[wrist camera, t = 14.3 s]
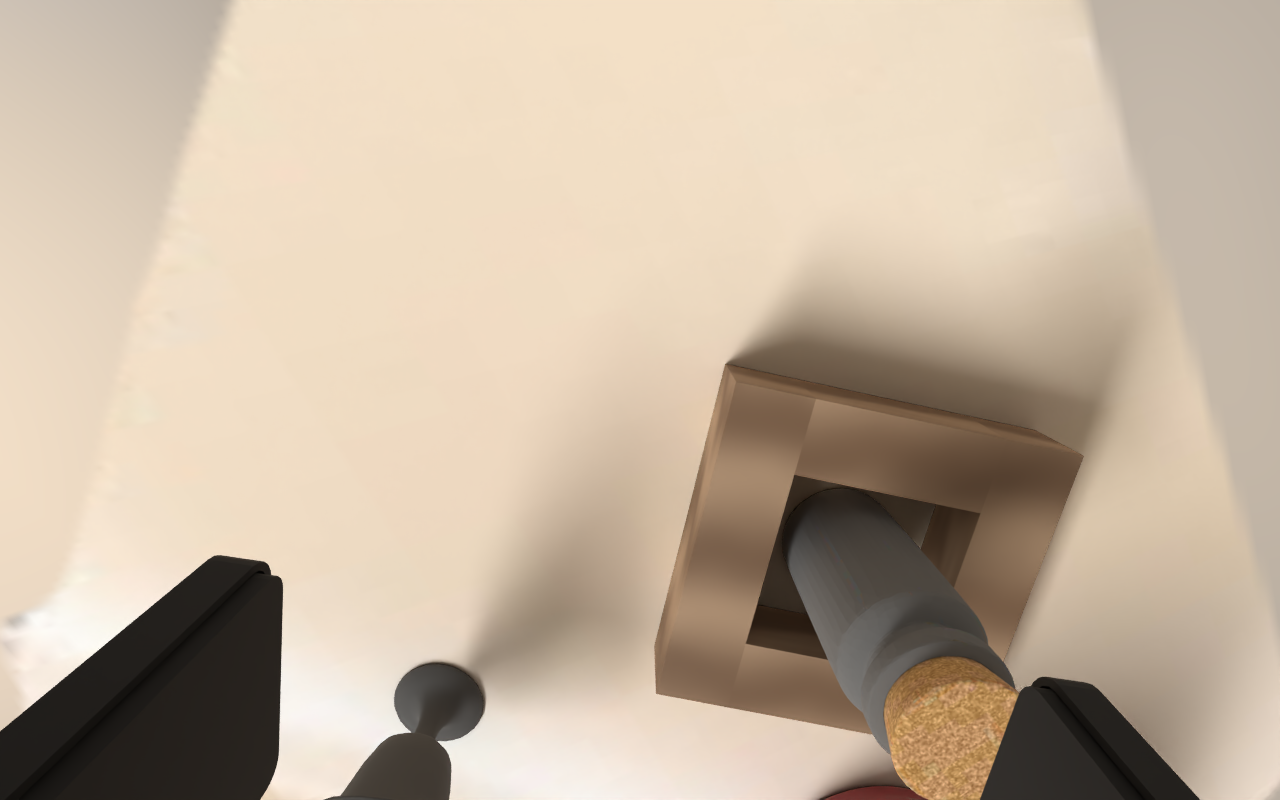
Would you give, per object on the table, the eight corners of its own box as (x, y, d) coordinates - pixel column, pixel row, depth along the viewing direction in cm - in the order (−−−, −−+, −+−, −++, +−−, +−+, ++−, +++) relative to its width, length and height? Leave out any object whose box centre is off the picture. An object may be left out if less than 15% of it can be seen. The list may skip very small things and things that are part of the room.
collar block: (725, 363, 34) (736, 381, 31) (1035, 430, 35) (1083, 455, 31) (654, 645, 38) (656, 693, 34) (935, 699, 39) (967, 752, 35)
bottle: (766, 508, 36) (852, 698, 22) (876, 471, 36) (1038, 640, 21) (799, 604, 38) (901, 843, 23) (905, 569, 37) (1077, 791, 23)
